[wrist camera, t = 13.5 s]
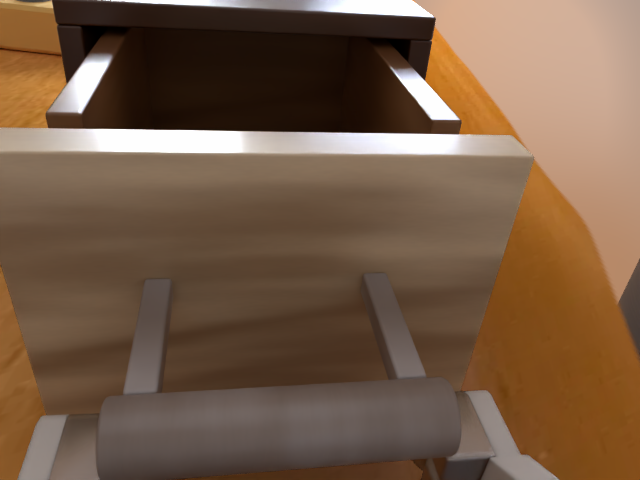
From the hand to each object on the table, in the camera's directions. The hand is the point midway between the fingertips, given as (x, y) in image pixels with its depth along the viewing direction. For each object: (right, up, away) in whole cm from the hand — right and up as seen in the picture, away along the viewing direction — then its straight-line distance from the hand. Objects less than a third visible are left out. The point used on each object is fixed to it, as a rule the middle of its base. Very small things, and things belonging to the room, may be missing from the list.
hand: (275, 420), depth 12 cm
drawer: (-1, +1, +8) cm, 9 cm away
